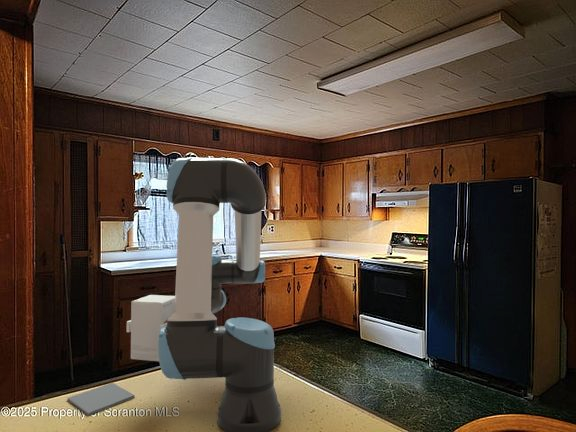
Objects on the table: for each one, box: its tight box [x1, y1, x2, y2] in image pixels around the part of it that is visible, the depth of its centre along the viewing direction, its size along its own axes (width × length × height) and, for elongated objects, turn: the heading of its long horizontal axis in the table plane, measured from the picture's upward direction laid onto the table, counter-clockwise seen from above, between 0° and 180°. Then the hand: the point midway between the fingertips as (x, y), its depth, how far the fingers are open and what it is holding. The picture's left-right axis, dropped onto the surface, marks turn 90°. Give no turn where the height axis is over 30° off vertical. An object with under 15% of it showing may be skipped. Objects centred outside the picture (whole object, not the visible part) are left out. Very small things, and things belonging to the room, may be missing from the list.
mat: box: [67, 382, 136, 416], centre depth 103 cm, size 12×12×1 cm
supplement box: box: [130, 294, 175, 362], centre depth 103 cm, size 9×9×15 cm
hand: (144, 329), depth 99 cm, fingers closed on supplement box, 9 cm apart
